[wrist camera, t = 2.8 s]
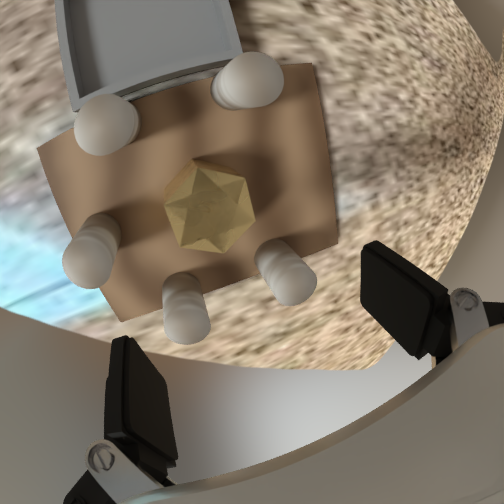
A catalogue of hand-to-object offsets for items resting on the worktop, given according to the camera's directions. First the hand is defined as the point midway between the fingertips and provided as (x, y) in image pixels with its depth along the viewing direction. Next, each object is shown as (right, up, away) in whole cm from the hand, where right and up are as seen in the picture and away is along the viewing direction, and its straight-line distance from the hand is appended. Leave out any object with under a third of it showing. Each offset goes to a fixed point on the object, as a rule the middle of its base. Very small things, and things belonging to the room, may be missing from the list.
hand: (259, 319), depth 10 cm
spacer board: (-5, +8, +15) cm, 17 cm away
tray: (-10, +23, +5) cm, 25 cm away
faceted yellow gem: (-5, +7, +14) cm, 16 cm away
